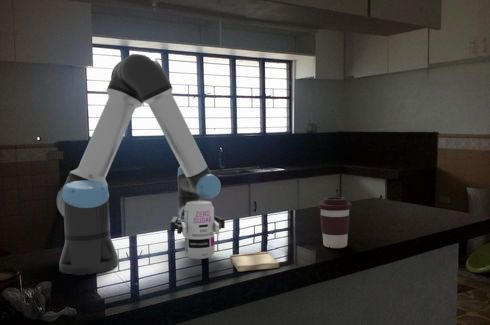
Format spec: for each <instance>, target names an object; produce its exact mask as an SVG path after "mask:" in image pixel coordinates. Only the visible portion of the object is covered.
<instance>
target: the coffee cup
mask: <svg viewBox="0 0 490 325" xmlns="http://www.w3.org/2000/svg"><path fill="white" fill-rule="evenodd" d="M318 209H319V210H320V215H319V217H320V228H321V233H322V242H323V246H324V247H327V248H329V247H330V248H331V249H342V248H346V247H347V246H348V238H349V237H348V234H349V229H350V227H349V226H350V210H351V209H352V203H351V202H349V201H347V199H346V198H345V197H341V196H327V197H324V198H323V199H322V200H321V202H319V203H318Z"/></svg>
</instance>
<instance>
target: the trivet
mask: <svg viewBox="0 0 490 325" xmlns="http://www.w3.org/2000/svg"><path fill="white" fill-rule="evenodd" d="M229 259H230V261H231V263H232V264H233V266H234V267H235V268H236V270H237V272H246V271H247V272H248V271H256V270H257V271H258V270H268V269H278V268H280V262H279V261H277V260H276V259H275V258H273V257H272V256H271V255H270V253H269V252H268V251H260V252H250V253H249V252H248V253H242V254H239V253H238V254H230V256H229Z"/></svg>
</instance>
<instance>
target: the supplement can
mask: <svg viewBox="0 0 490 325" xmlns="http://www.w3.org/2000/svg"><path fill="white" fill-rule="evenodd" d="M214 214H215V207H214V205H213V202H212V201H210V200H200V201H190V202H186V206H185V208H184V221H185V225H186V237H184V254H185V255H186V256H187V258H190V259H194V260H195V259H196V260H201V259H204V260H205V259H209V258H211V257H212V256H214V254H215V232H214Z"/></svg>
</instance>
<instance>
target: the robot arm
mask: <svg viewBox="0 0 490 325" xmlns="http://www.w3.org/2000/svg"><path fill="white" fill-rule="evenodd" d="M173 89H174V87H173V86H172V84H171V81H170V79H169V77H168V76H167V74H166V72H165V70H164V69H163V67H162V65H161V64H160V63H159V61H158V60H157V59H156V58H155V57H154V56H153V55H150V54H148V53H145V52H133V53H131V54H130V55H128V56H127V57H125V58H124V59H123V60H120V61H119V62H118V63H116V64H115V66H114V67H113V69H112V71H111V75H110V81H109V83H108V86H107V88H106V94H107V96H108V98H107V100H106V103H105V105H104V106H103V109H102V112H101V115H100V117H99V119H98V121H97V122H96V123H97V124H96V126H95V127H94V131H93V133H92V135H91V137H90V139H89V142H88V144H87V147H86V148H85V150H84V153H83V155H82V158H81V160H80V163H79V165H78V167H77V168H75V169H74V170H71V171H70V172H69V174H68V175H67V177H66V181H65V183H64V184H63V186H62V187H60V190H58V193H57V196H56V206H57V210H58V211H59V213H60V214H61V216H62V217H63V223H64V224H63V225H64V246H63V249H62V252H61V256H60V260H59V263H58V264H59V265H58V267H59V268H58V269H59V272H60V271H61V272H63V273H66V274H76V275H75V276H87V275H86V274H89V275H95V274H99V273H104V272H107V271H110V270H112V269H114V268H116V267H117V266H118V265H119V256H118V253H117V250H116V248H115V245H114V243H113V240H112V238H111V222H110V221H111V220H110V193H109V189H108V188H109V187H108V186H109V184H108V183H107V180H106V177H107V175H108V174H109V173H108V172H109V170H110V168H111V166H112V164H113V161H114V159H115V157H116V154H117V152H118V150H119V148H120V145H121V143H122V140H123V138H124V136H125V133H126V131H127V129H128V126H129V124H130V122H131V120H132V117H133V115H134V112H135V109H138V108H140V107H142V106H143V104H147V105H148V106H149V108H150V110H151V112H152V114H153V116H154V118H155V119H156V122H157V124H158V125H159V128H160V129H161V131H162V133H163V135H164V137H165V138H166V141H167V143H168V145H169V147H170V149H171V151H172V152H173V155H174V156H175V158H176V160H177V162H178V164H179V167H178V168H177V176H176V177H177V196H178V197H177V208H176V209H177V215H178V216H175V215H173V216H171V221H170V232H175V231H176V233H177V234H178V235H181V234H182V236H183V237H184V238H185V237H186V225H185V221H184V208H185V206H186V202H190V201H201V199H213V198H215V197H216V196H218V195H219V193H220V191H221V186H222V185H221V181H220V179H219V178H218V176H216V175H214V174H213V173H211V172H212V171H211V170H210V169H209V167H208V165H207V162H206V160H205V159H204V156H203V154H202V152H201V151H200V148H199V146H198V145H197V142H196V140H195V138H194V135H193V133H192V132H191V130H190V128H189V126H188V123H187V122H186V120H185V118H184V116H183V114H182V112H181V110H180V107H179V105H178V104H177V102H176V99H175V98H174V95H173V94H172V92H173ZM225 228H226V224H225V218H222V217H220V216H218V215H217V214H216V213H214V234H216V236H217V235H220V230H221V229H225ZM61 272H60V273H61ZM63 273H62V274H63ZM94 273H95V274H94ZM66 274H65V275H66Z"/></svg>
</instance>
